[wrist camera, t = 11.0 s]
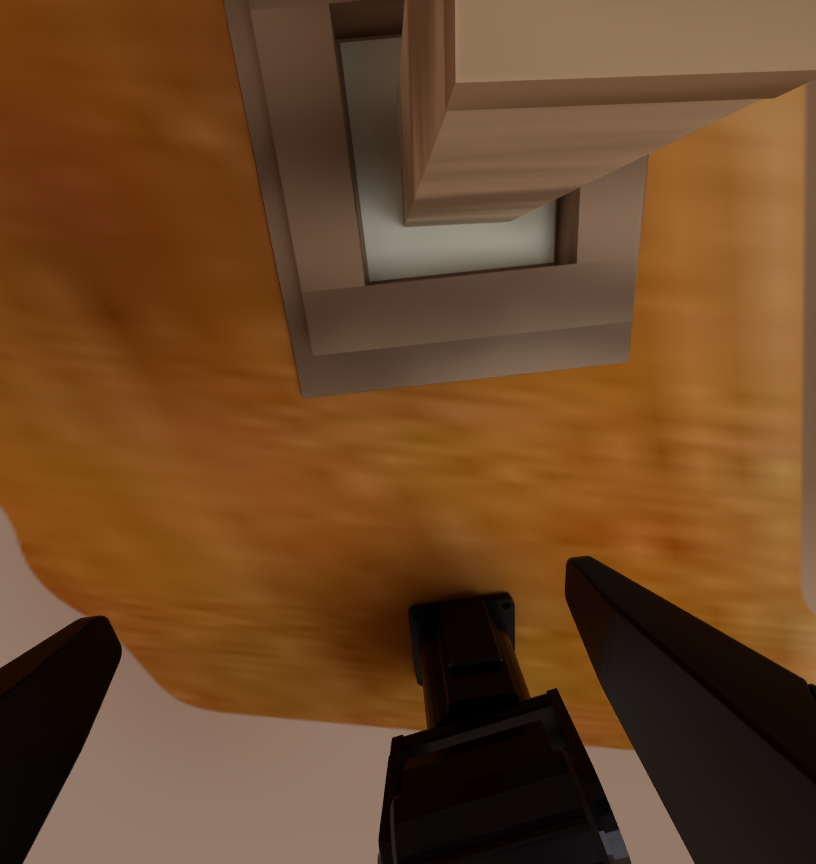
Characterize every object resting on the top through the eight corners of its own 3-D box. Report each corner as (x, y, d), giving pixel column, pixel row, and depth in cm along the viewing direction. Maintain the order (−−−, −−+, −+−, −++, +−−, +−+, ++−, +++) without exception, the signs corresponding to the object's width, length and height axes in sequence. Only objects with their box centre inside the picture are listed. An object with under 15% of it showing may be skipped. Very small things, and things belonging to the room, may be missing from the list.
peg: (510, 223, 17) (836, 68, 5) (402, 228, 17) (455, 82, 5) (515, 89, 15) (1026, -662, 3) (395, 94, 15) (449, -686, 3)
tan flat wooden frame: (623, 360, 20) (654, 370, 18) (304, 396, 20) (294, 410, 17) (673, -166, 13) (731, -256, 11) (200, -127, 13) (163, -211, 11)
